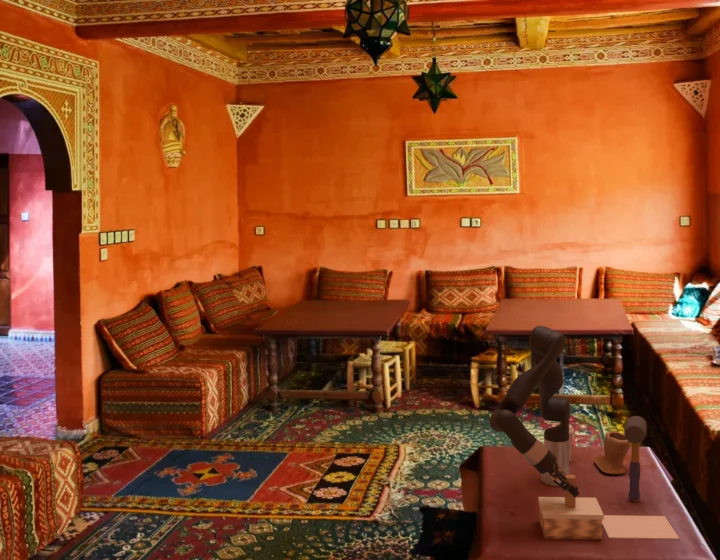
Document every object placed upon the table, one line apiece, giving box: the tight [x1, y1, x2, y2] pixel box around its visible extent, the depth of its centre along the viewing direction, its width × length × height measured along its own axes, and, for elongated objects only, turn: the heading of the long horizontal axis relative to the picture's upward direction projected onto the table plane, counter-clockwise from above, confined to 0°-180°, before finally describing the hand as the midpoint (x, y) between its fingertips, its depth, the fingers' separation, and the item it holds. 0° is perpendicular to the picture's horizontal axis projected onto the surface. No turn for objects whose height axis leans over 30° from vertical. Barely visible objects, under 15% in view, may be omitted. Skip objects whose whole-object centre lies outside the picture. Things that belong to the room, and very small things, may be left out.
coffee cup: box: [551, 422, 575, 463], centre depth 333 cm, size 10×10×15 cm
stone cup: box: [592, 431, 631, 475], centre depth 322 cm, size 15×12×15 cm
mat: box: [602, 514, 680, 540], centre depth 271 cm, size 22×17×1 cm
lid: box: [537, 474, 605, 520], centre depth 269 cm, size 19×14×12 cm
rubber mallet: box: [623, 415, 648, 503], centre depth 291 cm, size 12×8×30 cm, turn 158°
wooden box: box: [538, 508, 603, 541], centre depth 270 cm, size 18×13×7 cm
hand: (576, 492), depth 268 cm, fingers closed on lid, 3 cm apart
